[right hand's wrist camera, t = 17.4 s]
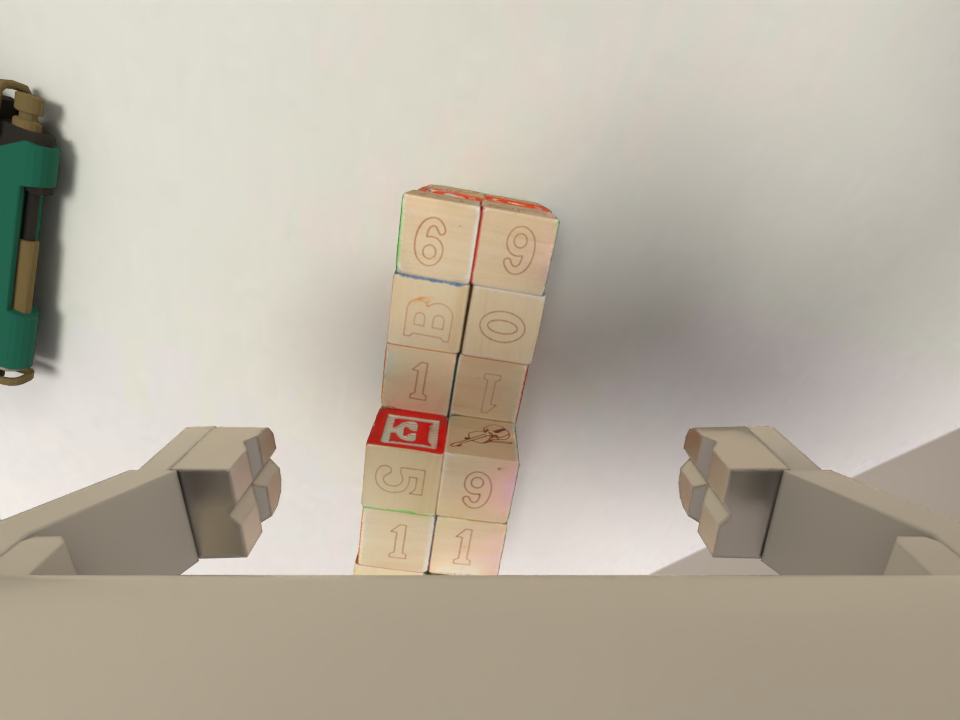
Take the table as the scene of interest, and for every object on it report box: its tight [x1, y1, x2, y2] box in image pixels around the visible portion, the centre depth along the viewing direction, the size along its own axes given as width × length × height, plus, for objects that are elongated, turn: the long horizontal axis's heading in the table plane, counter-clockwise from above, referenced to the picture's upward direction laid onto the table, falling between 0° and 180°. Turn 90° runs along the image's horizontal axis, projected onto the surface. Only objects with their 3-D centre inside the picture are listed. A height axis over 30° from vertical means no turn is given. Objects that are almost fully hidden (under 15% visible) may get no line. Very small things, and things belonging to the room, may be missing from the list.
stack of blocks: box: [354, 185, 559, 575], centre depth 26 cm, size 21×6×12 cm, turn 170°
